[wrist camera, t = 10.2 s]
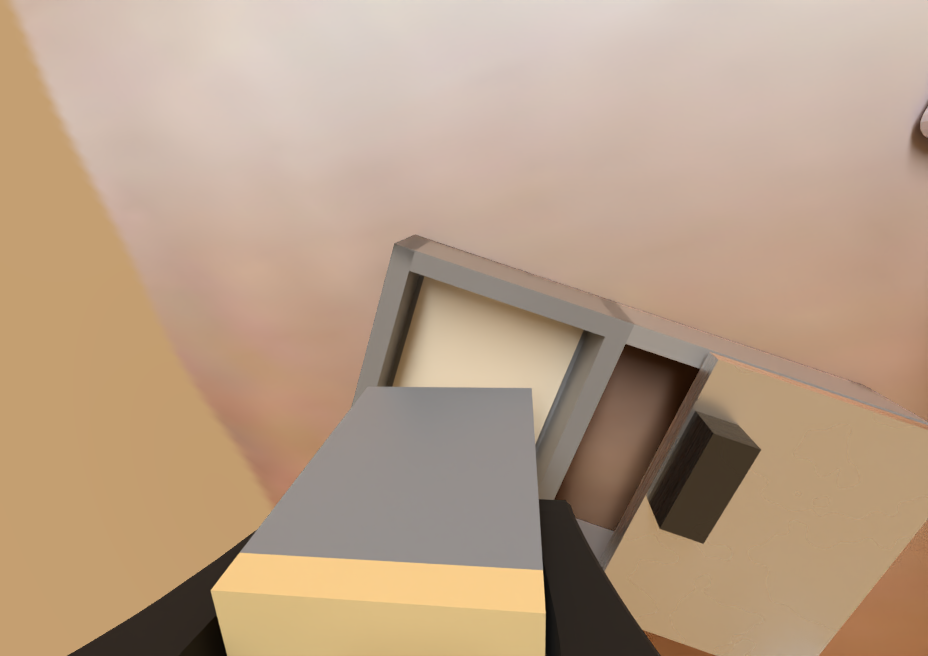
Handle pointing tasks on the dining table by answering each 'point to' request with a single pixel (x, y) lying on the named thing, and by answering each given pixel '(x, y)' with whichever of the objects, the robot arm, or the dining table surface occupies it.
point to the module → (401, 536)
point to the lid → (766, 514)
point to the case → (536, 347)
